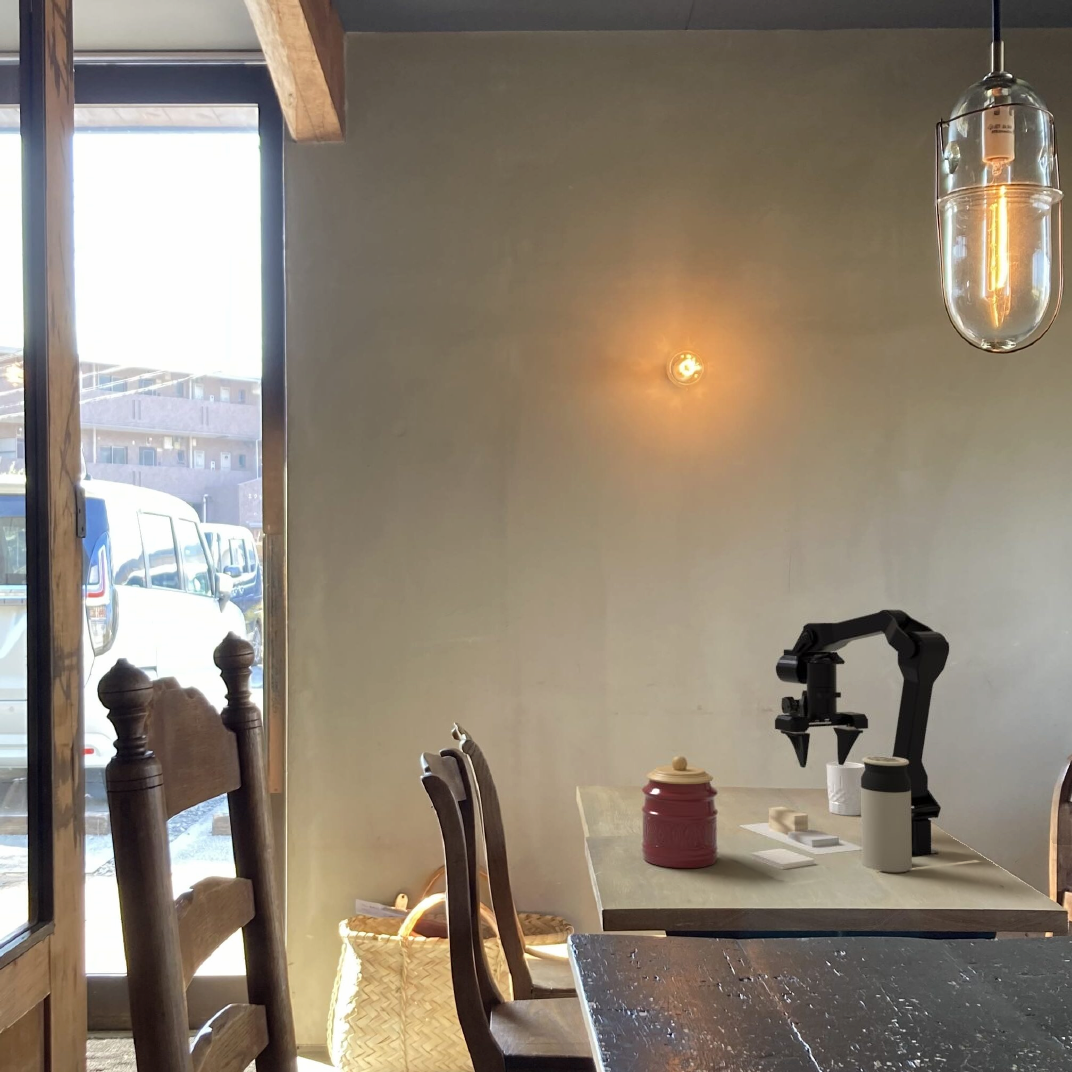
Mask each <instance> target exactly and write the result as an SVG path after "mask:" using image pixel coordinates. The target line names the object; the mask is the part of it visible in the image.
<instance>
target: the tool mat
mask: <svg viewBox="0 0 1072 1072" xmlns="http://www.w3.org/2000/svg"><path fill="white" fill-rule="evenodd" d="M738 827H741V828H743V829H746V830H749V831H752V832H754V833H758V834H760V835H763V836H765V837H768V838H770V839H773V840H776V841H778V842H782V843H783V844H786V845H790V846H792V847H795V848H798V849H800V850H803V851H805V852H809V853H811V854H814V855H816V856H817V855H827V854H835V853H836V854H837V853H845V852H852V851H853V852H854V851H862V846H859V845H857V844H854V843H851V842H847V841H845V840H842V839H839V844H837V845H827V846H818V847H810V846H808V845H805V844H802V843H799V842H796V841H794V840H791V839H788V835H785V834H783V833H780V832H777V831H774V830H771V829H769V822H763V823H761V822H760V823H752V824H740V825H738ZM808 830H811V829H809V828H808Z"/></svg>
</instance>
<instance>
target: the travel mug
mask: <svg viewBox="0 0 1072 1072" xmlns="http://www.w3.org/2000/svg"><path fill="white" fill-rule="evenodd" d="M861 760H862V762H863V765H865V771H864V773H863V775H862V776H861V815H860V817H861V818H860V819H861V825H860V826H861V832H860V833H861V835H860V836H861V847H862V850H861V865H862V866H863V867H866V868H868V869H871V870H876V871H879V873H884V874H885V873H886V874H903V873H905V872H908V871H910V870H912V869H913V860H912V859H913V857H912V841H911V808H912V806H911V780H910V778H909V776H908V774H907V772H906V770H907V765H908V764H909V761H908V760H907V759H903V758H898V757H892V756H887V755H868V756H864V757H863V758H862V759H861Z"/></svg>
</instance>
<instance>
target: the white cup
mask: <svg viewBox="0 0 1072 1072" xmlns="http://www.w3.org/2000/svg"><path fill="white" fill-rule="evenodd" d="M864 771H865V765H864V763H858V762H854V761H845V762H844V764H843V765H839V764H838V761H829V762H826V780H827V781H826V785H827V798H828V803H829V804H828V808H829V810H828V811H829V812H830V813H831V814H834V815H838V816H840V815H841V816H849V817H850V816H853V817H854V816H861V776H862V775H863V773H864Z"/></svg>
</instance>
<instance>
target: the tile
mask: <svg viewBox="0 0 1072 1072" xmlns="http://www.w3.org/2000/svg"><path fill="white" fill-rule="evenodd" d="M750 859H752V860H755V861H758V862H760V863H763V864H767V865H769V866H772V867H775V868H778V869H781V870H785V869H793V868H799V867H806V866H811V865H815V858H811V857H808V856H806V855H802V854H800V853H797V852H793V851H792V850H788V849H785V848H775V849H767V850H761V851H755V852H750Z"/></svg>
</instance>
